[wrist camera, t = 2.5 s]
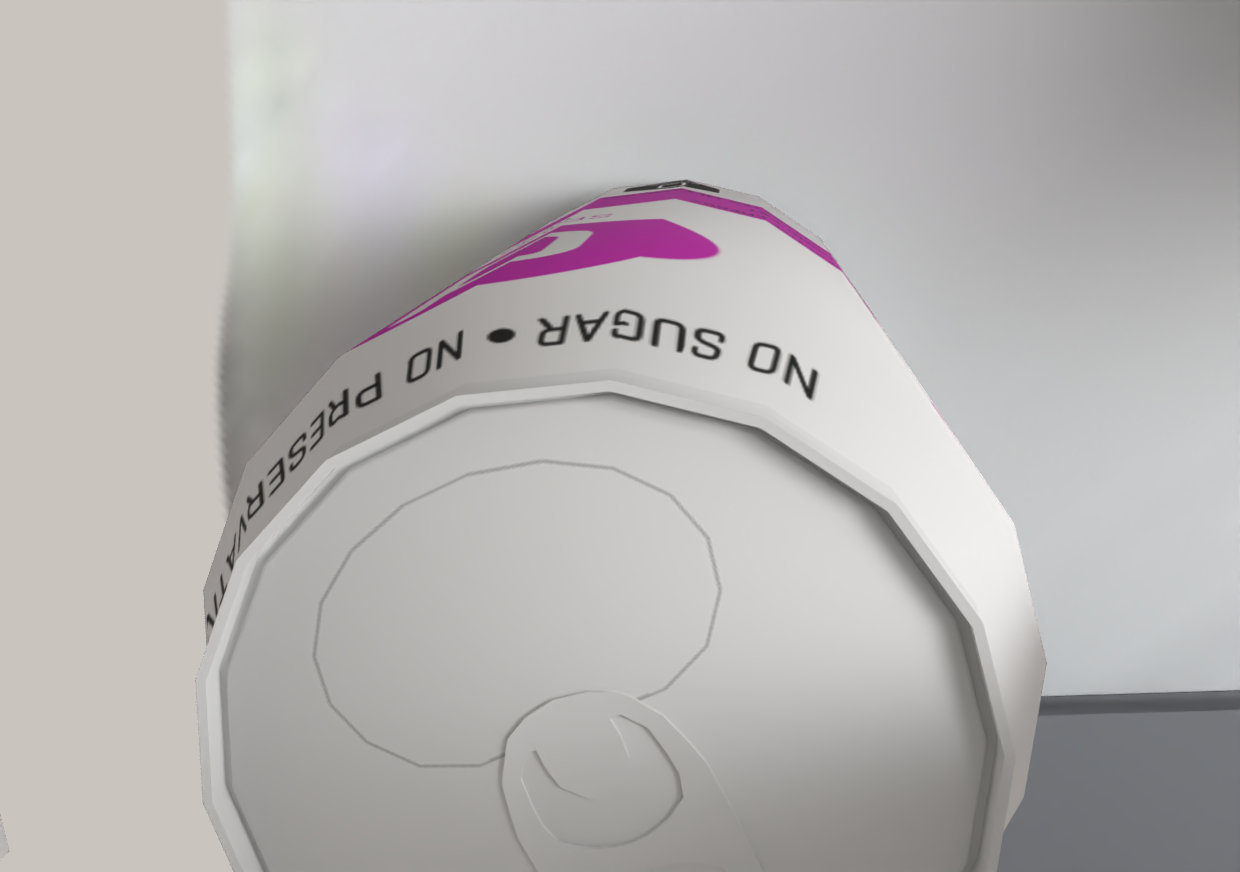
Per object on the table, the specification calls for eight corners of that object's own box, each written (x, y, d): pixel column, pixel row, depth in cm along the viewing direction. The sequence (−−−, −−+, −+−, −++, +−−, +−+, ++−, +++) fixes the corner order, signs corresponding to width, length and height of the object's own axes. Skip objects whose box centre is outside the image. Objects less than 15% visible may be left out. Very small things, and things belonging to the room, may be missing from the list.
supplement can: (413, 292, 24) (-56, 567, 10) (772, 105, 22) (842, 106, 8) (591, 614, 26) (414, 1255, 11) (937, 464, 24) (1240, 994, 10)
